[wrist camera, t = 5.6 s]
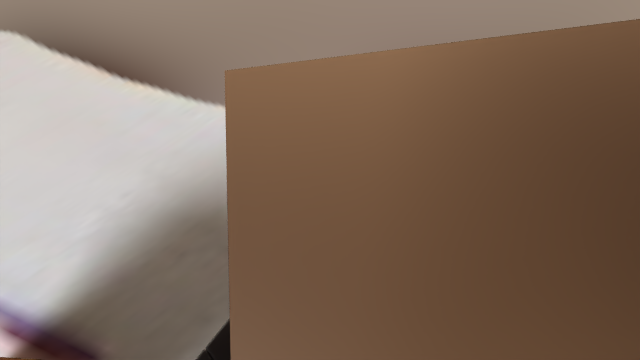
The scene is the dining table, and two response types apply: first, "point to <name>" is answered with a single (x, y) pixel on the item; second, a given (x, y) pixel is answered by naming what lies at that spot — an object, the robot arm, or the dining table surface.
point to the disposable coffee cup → (15, 359)
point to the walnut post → (439, 201)
